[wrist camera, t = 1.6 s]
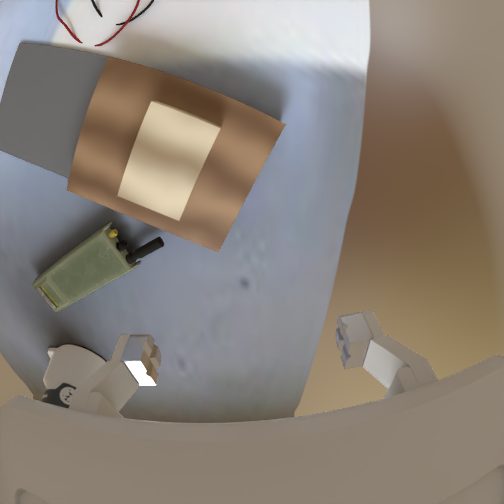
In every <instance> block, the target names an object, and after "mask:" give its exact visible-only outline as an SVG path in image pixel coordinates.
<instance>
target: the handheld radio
mask: <svg viewBox="0 0 504 504" xmlns="http://www.w3.org/2000/svg"><path fill="white" fill-rule="evenodd" d="M111 224H112V221H111V222H110V223H108V224H107V225H105V226H104V227H102V228H101V229H99V230H98V231H97V232H95V233H94V234H92V235H91V236H90V237H88V238H87V239H86V240H84V241H83V242H81V243H80V244H79V245H77V246H76V247H75V248H73V249H72V250H71V251H70V252H68V253H67V254H66V255H64V256H63V257H62V258H61V259H59V260H58V261H57V262H55V263H54V264H53V265H52V266H51V267H49V268H48V269H47V270H46V271H44V272H43V273H42V274H41V275H40V276H38V277H37V278H36V279H35V281H34V282H33V283H32V285H33V287H34V288H35V290H36V291H37V292H38V293H39V294H40V296H41V297H42V298H43V299H44V300H45V301H46V303H47V304H48V305H49V306H50V307H51V308H52V309H53V310H54V311H55V312H56V313H57V312H59V311H60V310H62V309H64V308H66V307H67V306H69V305H71V304H72V303H74V302H76V301H78V300H79V299H81V298H83V297H85V296H86V295H88V294H90V293H92V292H93V291H95V290H97V289H99V288H101V287H102V286H104V285H106V284H108V283H110V282H111V281H113V280H115V279H117V278H119V277H120V276H122V275H124V274H126V273H128V272H129V271H131V270H132V269H134V268H136V267H137V266H139V264H140V263H141V261H138V262H135V261H136V260H137V259H138V258H142V257H144V256H146V255H148V254H150V253H151V252H153V251H155V250H157V249H159V248H161V247H163V246H164V242H163V240H162V238H161V237H157V238H156V239H154V240H152V241H150V242H148V243H147V244H145V245H143V246H141V247H140V248H138V249H136V250H135V252H133V253H128V252H127V250H126V248H127V242H126V241H125V240H121V241H119V240H118V238H117V237H116V236H117V235H118V231H117V230H116V229H113V230H111V229H110V227H109V226H110V225H111Z"/></svg>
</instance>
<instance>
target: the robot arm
mask: <svg viewBox="0 0 504 504" xmlns="http://www.w3.org/2000/svg"><path fill="white" fill-rule="evenodd" d="M337 323H338V326H339V328H337V329H336V343H337V347H338V350H340V351H341V352H342V355H341V359H342V362H343V366H344V369H349V368H355V367H360V366H363V367H364V368H365V369H366V370H367V371H368V372H369V373H371V374H372V375H373V376H374V377H375V378H376V379H378V380H379V381H380V382H381V383H382V384H383V385H384V386H386V387H387V388H388V391H387V393H386V395H385V397H384V399H380V400H376V401H373V402H369V403H365V404H361V405H357V406H352V407H348V408H343V409H338V410H333V411H329V412H323V413H317V414H312V415H305V416H298V417H291V418H283V419H274V420H264V421H251V422H235V423H172V422H156V421H144V420H134V419H126V418H124V417H123V416H122V415H121V414H120V413H119V411H120V409H121V408H122V407H123V406H124V405H125V403H126V402H127V401H128V400H129V398H130V397H131V396H132V395H133V394H134V392H135V391H136V390H137V389H138V388H139V385H156V382H157V378H158V372H157V371H156V370H157V369H158V368H159V367H160V364H161V353H160V350H159V348H158V346H156V345H155V344H154V341H155V340H154V338H153V336H152V335H121V336H120V337H119V339H118V342H117V344H116V347H115V350H114V352H113V355H112V357H111V360H110V361H107V362H106V361H104V360H103V359H102V358H100V357H99V356H98V355H96V354H94V353H93V352H91V351H89V350H87V349H84V348H82V347H79V346H75V345H62V346H60V347H58V348H49V350H48V355H49V357H50V363H49V365H48V368H47V370H46V373H45V376H44V379H43V381H44V384H45V386H46V388H47V390H46V391H45V393H44V396H43V397H42V401H37V400H34V399H31V398H28V397H24V396H21V395H17V396H14V397H13V398H11V399H10V400H8V401H7V402H6V403H5V404H3V405H2V406H1V407H0V504H504V356H501V355H493V356H491V357H489V358H487V359H485V360H483V361H481V362H479V363H477V364H475V365H473V366H471V367H468V368H466V369H464V370H462V371H459V372H457V373H455V374H452V375H450V376H448V377H445V378H443V379H440V380H438V379H437V377H436V375H435V373H434V371H433V369H432V367H431V365H430V363H429V361H428V360H427V359H426V358H425V357H423V356H421V355H420V354H418V353H416V352H415V351H413V350H411V349H410V348H408V347H406V346H405V345H403V344H402V343H400V342H398V341H397V340H395V339H393V338H392V337H390V336H389V335H387V336H385V334H384V332H383V330H382V328H381V326H380V324H379V322H378V320H377V319H376V317H375V315H374V313H373V311H372V310H368V311H363V312H358V313H353V314H347V315H342V316H339V317H338V320H337Z"/></svg>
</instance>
